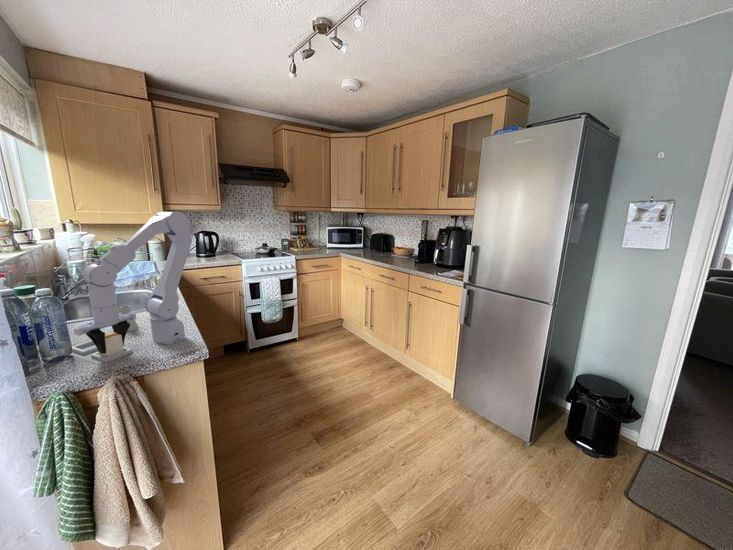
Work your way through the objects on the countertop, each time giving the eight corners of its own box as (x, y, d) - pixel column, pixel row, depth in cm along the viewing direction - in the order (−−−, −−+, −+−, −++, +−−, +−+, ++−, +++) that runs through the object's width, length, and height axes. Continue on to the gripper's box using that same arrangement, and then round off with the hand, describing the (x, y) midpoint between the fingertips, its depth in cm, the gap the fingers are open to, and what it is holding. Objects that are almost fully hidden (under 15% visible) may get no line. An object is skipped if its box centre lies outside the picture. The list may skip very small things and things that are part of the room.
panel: (138, 354, 94) (137, 347, 94) (100, 369, 85) (99, 361, 85) (103, 344, 101) (102, 337, 100) (64, 357, 92) (63, 349, 91)
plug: (124, 353, 92) (120, 332, 90) (108, 359, 88) (105, 337, 87) (115, 350, 93) (112, 330, 92) (100, 356, 89) (96, 335, 88)
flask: (137, 327, 115) (134, 302, 113) (143, 332, 111) (140, 306, 109) (113, 333, 110) (109, 306, 108) (118, 338, 105) (114, 311, 103)
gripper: (123, 297, 95) (129, 338, 98) (64, 311, 82) (73, 357, 85) (138, 300, 93) (143, 342, 96) (79, 314, 80) (88, 362, 83)
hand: (111, 349), depth 90 cm, fingers closed on plug, 4 cm apart
